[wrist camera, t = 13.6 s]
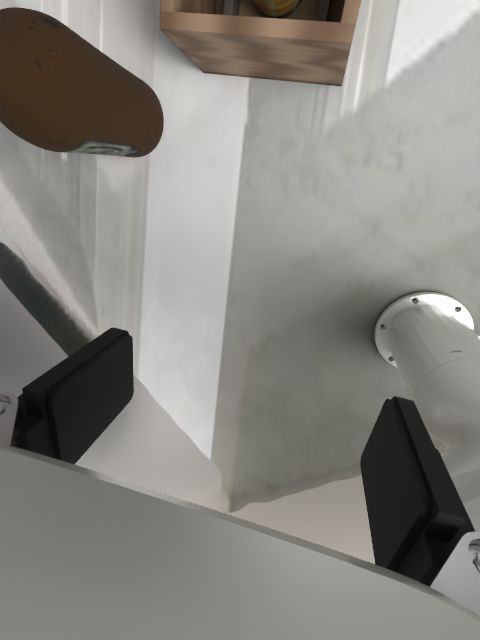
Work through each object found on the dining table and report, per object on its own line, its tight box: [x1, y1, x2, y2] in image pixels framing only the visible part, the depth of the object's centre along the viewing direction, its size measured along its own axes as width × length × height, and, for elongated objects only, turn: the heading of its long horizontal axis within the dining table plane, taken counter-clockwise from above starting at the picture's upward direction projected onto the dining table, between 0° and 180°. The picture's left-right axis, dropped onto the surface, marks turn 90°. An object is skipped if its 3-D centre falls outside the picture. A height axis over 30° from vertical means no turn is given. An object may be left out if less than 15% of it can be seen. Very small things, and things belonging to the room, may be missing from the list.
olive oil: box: [0, 8, 163, 157], centre depth 31 cm, size 11×11×25 cm
